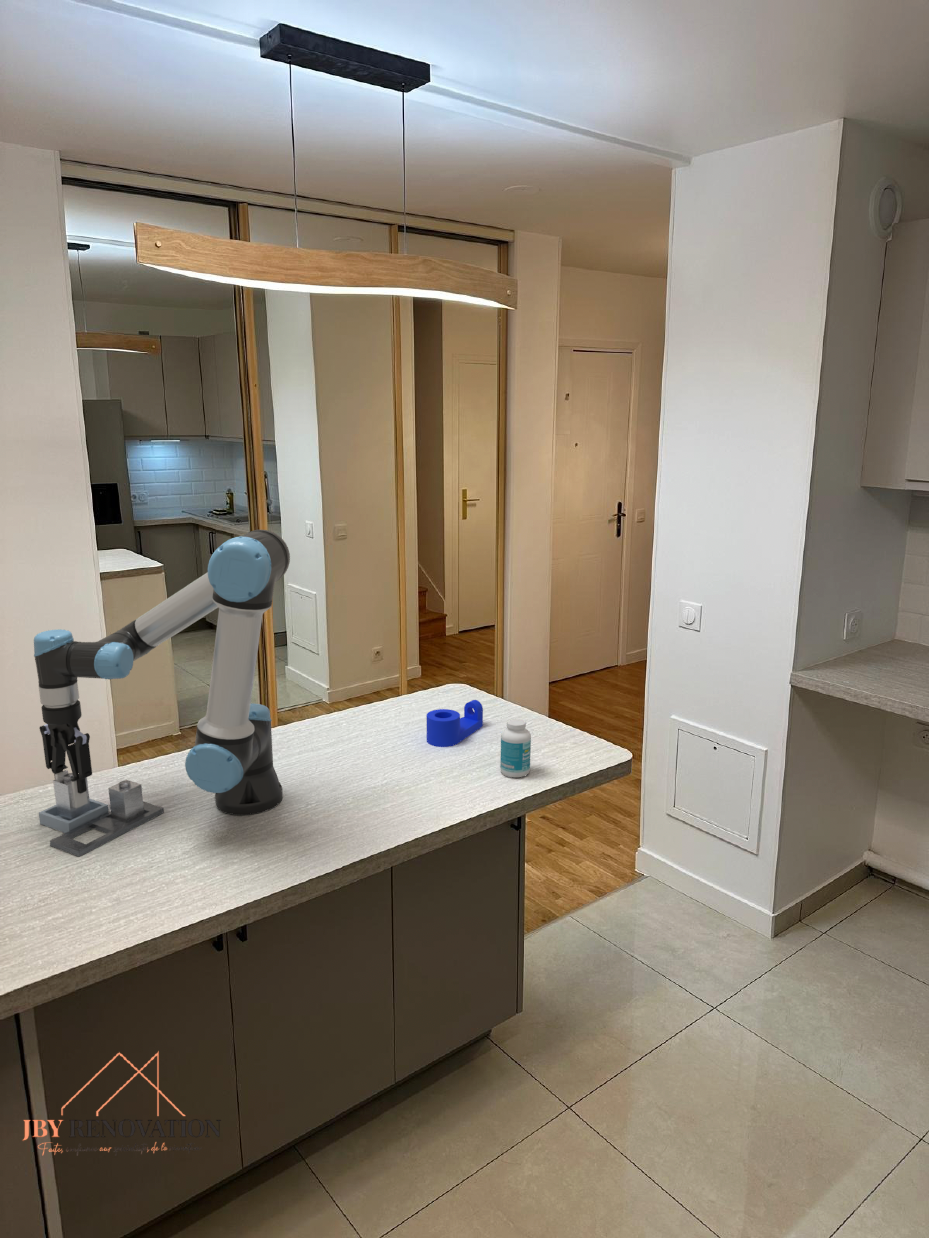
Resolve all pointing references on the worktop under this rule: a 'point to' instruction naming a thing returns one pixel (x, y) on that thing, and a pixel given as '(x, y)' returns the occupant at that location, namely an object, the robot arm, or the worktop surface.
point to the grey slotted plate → (103, 825)
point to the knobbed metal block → (68, 797)
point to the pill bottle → (515, 749)
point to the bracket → (453, 724)
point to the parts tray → (67, 824)
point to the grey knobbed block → (126, 801)
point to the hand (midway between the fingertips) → (72, 802)
